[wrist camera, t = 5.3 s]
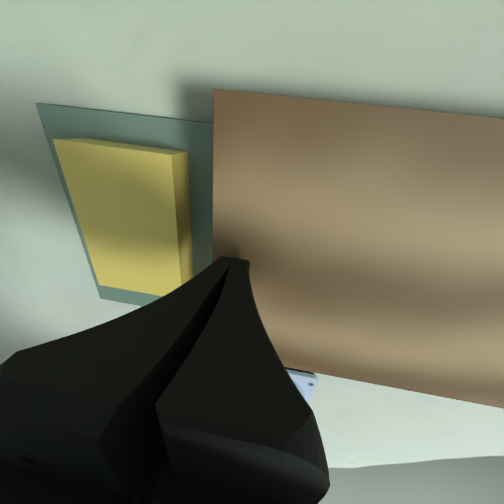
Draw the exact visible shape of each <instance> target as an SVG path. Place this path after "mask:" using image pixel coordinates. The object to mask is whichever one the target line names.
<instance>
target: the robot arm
mask: <svg viewBox="0 0 504 504" xmlns="http://www.w3.org/2000/svg"><path fill="white" fill-rule="evenodd" d="M249 269H250V262H249V261H248V260H244V259H238V258H232V257H225V256H221V257H219V258H218V259H217V260H215V261H214V262H213V263H212V264H210V265H209V266H208V267H206V268H205V269H204V270H203V271H201V272H200V273H198V274H197V275H196V276H194V277H193V278H192V279H190V280H189V281H187V282H186V283H184V284H183V285H181V286H180V287H178V288H176V289H175V290H173V291H172V292H170V293H168V294H166V295H165V296H163V297H161V298H159V299H157V300H155V301H153V302H151V303H149V304H147V305H145V306H143V307H141V308H139V309H136V310H134V311H132V312H130V313H128V314H125V315H123V316H121V317H118V318H116V319H114V320H111V321H108V322H106V323H103V324H101V325H98V326H95V327H93V328H90V329H87V330H84V331H81V332H79V333H76V334H73V335H70V336H67V337H63V338H60V339H57V340H54V341H50V342H47V343H44V344H41V345H38V346H34V347H31V348H28V349H24V350H21V351H17V352H16V353H14V354H13V355H12V356H11V357H10V358H8V359H7V360H6V361H5V362H3V363H2V364H1V365H0V504H318V503H319V501H320V500H321V499H322V498H323V497H324V496H325V494H326V493H327V491H328V489H329V486H330V481H329V471H328V466H327V461H326V456H325V452H324V447H323V443H322V440H321V436H320V432H319V429H318V426H317V422H316V419H315V416H314V413H313V411H312V409H311V408H310V406H309V405H308V402H309V399H310V397H311V395H312V393H313V391H314V388H315V386H316V384H317V376H315V375H313V374H308V373H303V372H298V371H293V370H287V369H285V367H284V365H283V363H282V362H281V360H280V358H279V356H278V354H277V352H276V350H275V348H274V346H273V345H272V343H271V341H270V339H269V337H268V335H267V332H266V330H265V328H264V325H263V323H262V320H261V318H260V315H259V312H258V310H257V307H256V303H255V300H254V296H253V292H252V288H251V283H250V275H249Z"/></svg>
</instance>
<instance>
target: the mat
mask: <svg viewBox="0 0 504 504" xmlns="http://www.w3.org/2000/svg"><path fill="white" fill-rule="evenodd" d="M35 104H36V107H37V110H38V113H39V116H40V119H41V122H42V125H43V128H44V131H45V134H46V137H47V140H48V143H49V146H50V149H51V152H52V155H53V158H54V161H55V164H56V167H57V170H58V173H59V176H60V179H61V182H62V185H63V188H64V191H65V194H66V197H67V200H68V203H69V206H70V209H71V212H72V215H73V218H74V221H75V224H76V227H77V230H78V233H79V236H80V239H81V242H82V245H83V248H84V251H85V254H86V257H87V260H88V263H89V266H90V269H91V272H92V275H93V278H94V281H95V284H96V287H97V290H98V293H99V296H100V298H101V299H106V300H112V301H117V302H123V303H129V304H134V305H140V306H145V305H147V304H149V303H151V302H153V301H155V300H157V299H159V298H161V297H163V296H158V295H153V294H147V293H141V292H136V291H130V290H125V289H119V288H113V287H108V286H102V285H99V283H98V280H97V277H96V274H95V271H94V268H93V265H92V262H91V258H90V255H89V252H88V249H87V246H86V243H85V240H84V237H83V233H82V230H81V227H80V224H79V221H78V218H77V215H76V212H75V208H74V205H73V202H72V199H71V196H70V193H69V190H68V187H67V183H66V180H65V177H64V174H63V171H62V168H61V165H60V162H59V158H58V155H57V152H56V149H55V146H54V143H53V140H52V139H78V138H87V139H95V140H103V141H110V142H118V143H125V144H133V145H141V146H148V147H156V148H164V149H171V150H179V151H186V152H188V162H189V187H190V212H191V237H192V262H193V277H194V276H196V275H197V274H198V273H200V272H201V271H203V270H204V269H205V268H206V267H208V266H209V265H210V264H212V243H213V138H214V124H212V123H203V122H194V121H186V120H177V119H168V118H160V117H151V116H143V115H134V114H125V113H117V112H108V111H99V110H91V109H82V108H74V107H65V106H56V105H48V104H39V103H35Z"/></svg>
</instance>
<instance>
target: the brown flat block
mask: <svg viewBox="0 0 504 504" xmlns="http://www.w3.org/2000/svg"><path fill="white" fill-rule="evenodd" d="M221 256H225V257H232V258H238V259H244V260H248V261H249V262H250V269H249V275H250V283H251V288H252V292H253V296H254V300H255V303H256V307H257V310H258V312H259V315H260V318H261V320H262V323H263V325H264V328H265V330H266V332H267V335H268V337H269V339H270V341H271V343H272V345H273V346H274V348H275V350H276V352H277V354H278V356H279V358H280V360H281V362H282V363H283V365H284V367H288V368H294V369H299V370H304V371H309V372H315V373H320V374H325V375H330V376H336V377H341V378H346V379H351V380H357V381H362V382H367V383H372V384H378V385H383V386H388V387H394V388H399V389H404V390H409V391H415V392H420V393H425V394H430V395H436V396H441V397H446V398H451V399H457V400H462V401H467V402H472V403H478V404H483V405H488V406H493V407H499V408H504V119H501V118H492V117H482V116H472V115H463V114H453V113H444V112H434V111H425V110H415V109H405V108H396V107H386V106H377V105H367V104H358V103H348V102H338V101H329V100H319V99H310V98H300V97H291V96H281V95H271V94H262V93H252V92H243V91H233V90H224V89H214V138H213V243H212V263H213V262H214V261H215V260H217V259H218V258H219V257H221Z"/></svg>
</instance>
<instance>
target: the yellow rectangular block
mask: <svg viewBox="0 0 504 504" xmlns="http://www.w3.org/2000/svg"><path fill="white" fill-rule="evenodd" d="M52 140H53V143H54V146H55V149H56V152H57V155H58V158H59V162H60V165H61V168H62V171H63V174H64V177H65V180H66V183H67V187H68V190H69V193H70V196H71V199H72V202H73V205H74V208H75V212H76V215H77V218H78V221H79V224H80V227H81V230H82V233H83V237H84V240H85V243H86V246H87V249H88V252H89V255H90V258H91V262H92V265H93V268H94V271H95V274H96V277H97V280H98V283H99V285H102V286H108V287H113V288H119V289H125V290H130V291H136V292H141V293H147V294H153V295H158V296H165V295H166V294H168V293H170V292H172V291H173V290H175V289H176V288H178V287H180V286H181V285H183V284H184V283H186V282H187V281H189V280H190V279H192V278H193V262H192V237H191V212H190V187H189V162H188V152H186V151H179V150H171V149H164V148H156V147H148V146H141V145H133V144H125V143H118V142H110V141H103V140H95V139H87V138H78V139H52Z"/></svg>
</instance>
